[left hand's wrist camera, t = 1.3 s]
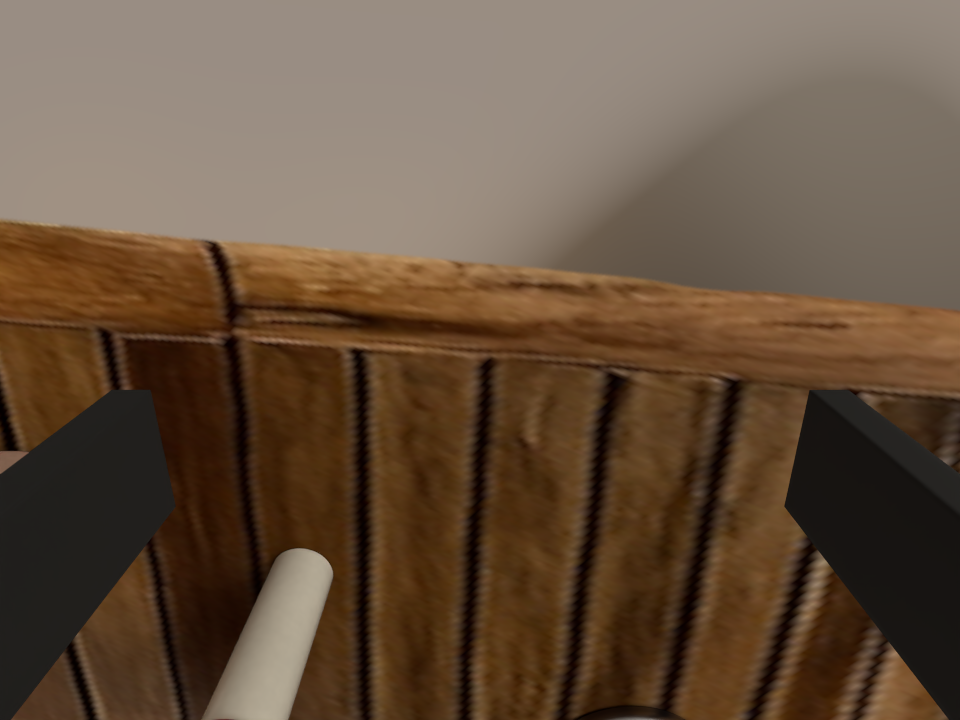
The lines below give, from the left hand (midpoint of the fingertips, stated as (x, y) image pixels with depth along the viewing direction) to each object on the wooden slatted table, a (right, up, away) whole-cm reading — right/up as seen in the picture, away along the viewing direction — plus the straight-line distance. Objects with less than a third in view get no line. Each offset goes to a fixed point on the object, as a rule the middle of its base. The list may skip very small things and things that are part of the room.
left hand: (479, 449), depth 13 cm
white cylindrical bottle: (-14, -15, +36) cm, 42 cm away
